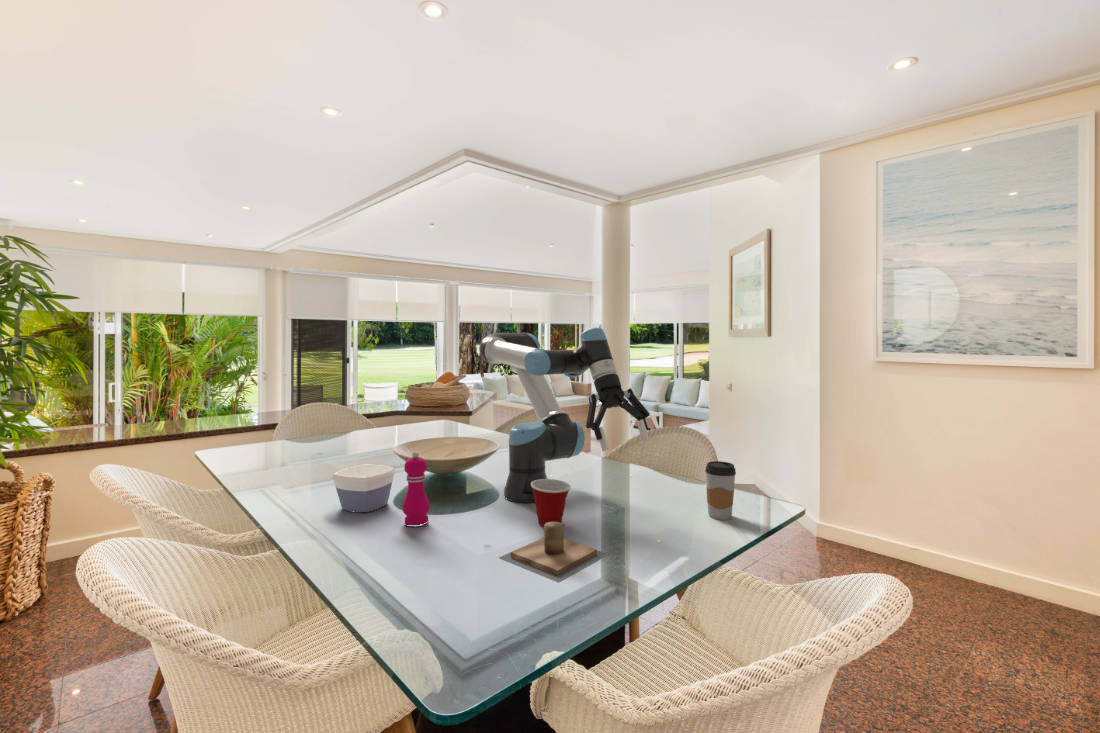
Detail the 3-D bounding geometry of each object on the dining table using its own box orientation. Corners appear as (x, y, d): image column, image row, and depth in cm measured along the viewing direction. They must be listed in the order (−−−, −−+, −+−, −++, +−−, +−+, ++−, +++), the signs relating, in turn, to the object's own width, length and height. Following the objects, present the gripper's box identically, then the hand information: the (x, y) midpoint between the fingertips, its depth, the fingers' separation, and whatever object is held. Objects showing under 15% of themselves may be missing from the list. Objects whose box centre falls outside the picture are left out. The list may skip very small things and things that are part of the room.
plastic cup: (567, 536, 130) (567, 490, 130) (526, 533, 132) (526, 488, 132) (573, 521, 141) (573, 479, 140) (535, 518, 143) (535, 476, 142)
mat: (498, 561, 115) (498, 557, 115) (550, 538, 129) (550, 534, 129) (558, 587, 103) (558, 582, 103) (608, 558, 117) (608, 554, 117)
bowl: (326, 511, 150) (325, 474, 149) (363, 496, 164) (362, 462, 163) (367, 518, 144) (366, 479, 143) (402, 502, 158) (401, 467, 158)
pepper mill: (435, 521, 142) (434, 450, 140) (418, 529, 135) (417, 455, 134) (414, 517, 145) (413, 447, 143) (397, 525, 138) (395, 453, 137)
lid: (510, 557, 115) (510, 526, 115) (551, 539, 126) (550, 510, 126) (557, 575, 106) (557, 542, 106) (596, 554, 117) (596, 523, 116)
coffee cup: (734, 513, 147) (735, 462, 147) (735, 522, 140) (736, 469, 139) (705, 509, 150) (705, 459, 149) (703, 519, 142) (704, 466, 142)
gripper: (572, 377, 142) (593, 450, 136) (646, 367, 152) (669, 435, 146) (563, 387, 149) (582, 457, 142) (634, 377, 159) (656, 442, 152)
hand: (626, 446), depth 144 cm, fingers open, 13 cm apart
